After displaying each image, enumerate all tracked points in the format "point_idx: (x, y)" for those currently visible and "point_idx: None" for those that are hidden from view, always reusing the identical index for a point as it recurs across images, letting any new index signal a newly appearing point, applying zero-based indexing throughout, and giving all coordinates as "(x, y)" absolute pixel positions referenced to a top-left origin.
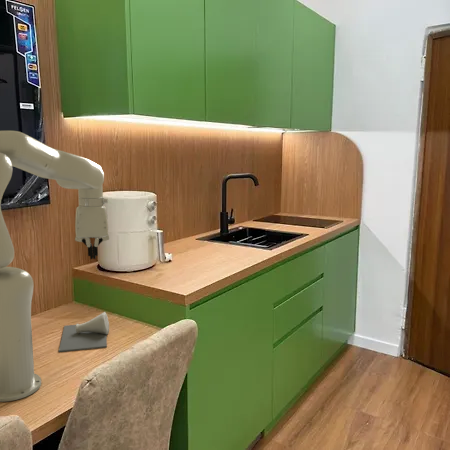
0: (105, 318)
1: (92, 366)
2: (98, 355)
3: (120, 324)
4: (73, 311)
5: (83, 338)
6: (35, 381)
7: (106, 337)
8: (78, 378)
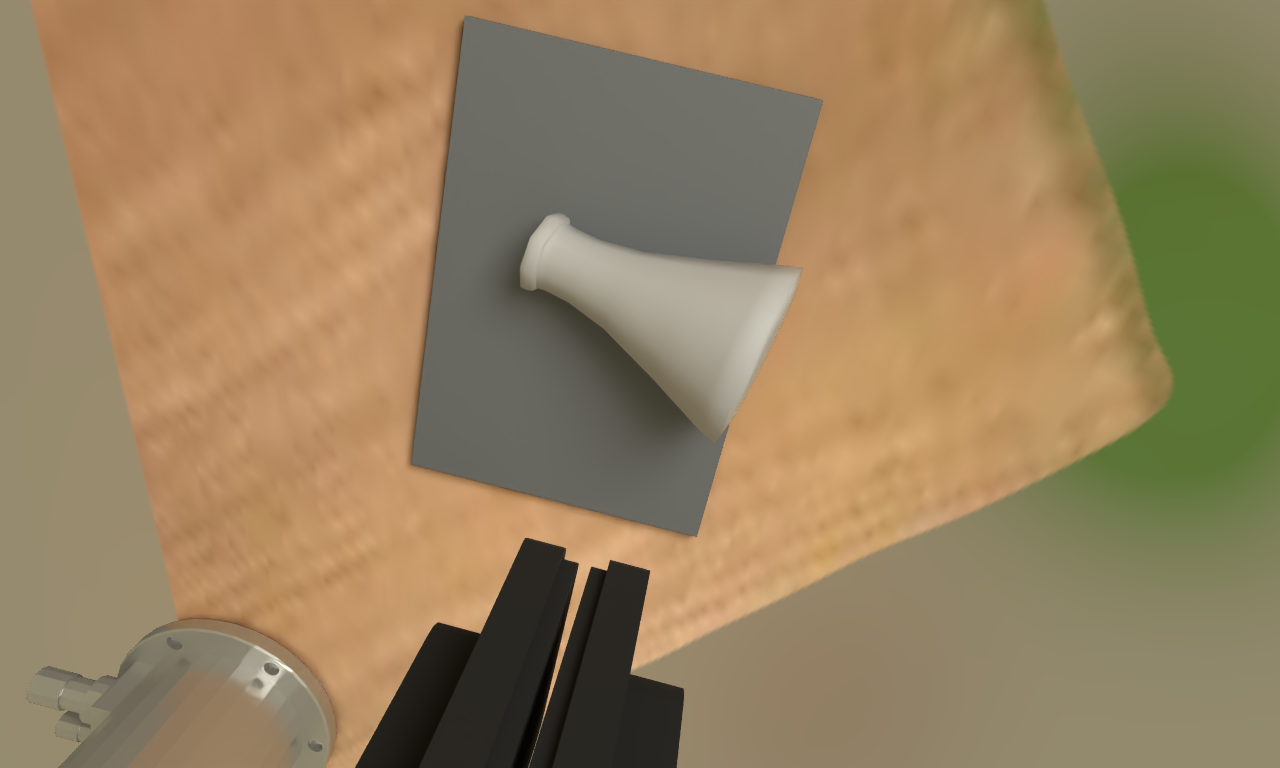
0: (747, 389)
1: None
2: None
3: (926, 181)
4: None
5: (577, 357)
6: (306, 742)
7: None
8: None
